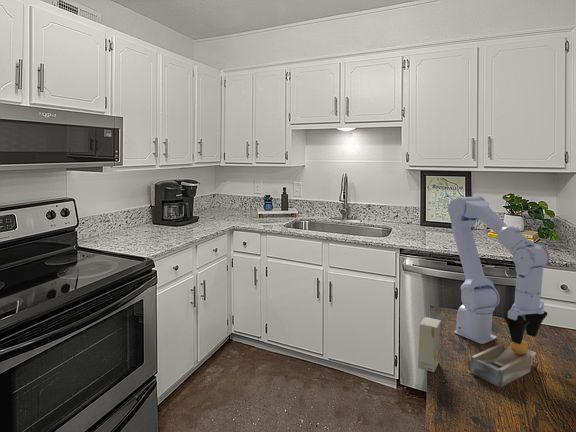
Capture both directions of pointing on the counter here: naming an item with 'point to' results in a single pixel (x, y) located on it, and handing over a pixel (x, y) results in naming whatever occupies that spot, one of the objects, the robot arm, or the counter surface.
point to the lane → (501, 365)
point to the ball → (519, 347)
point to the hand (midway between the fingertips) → (523, 338)
